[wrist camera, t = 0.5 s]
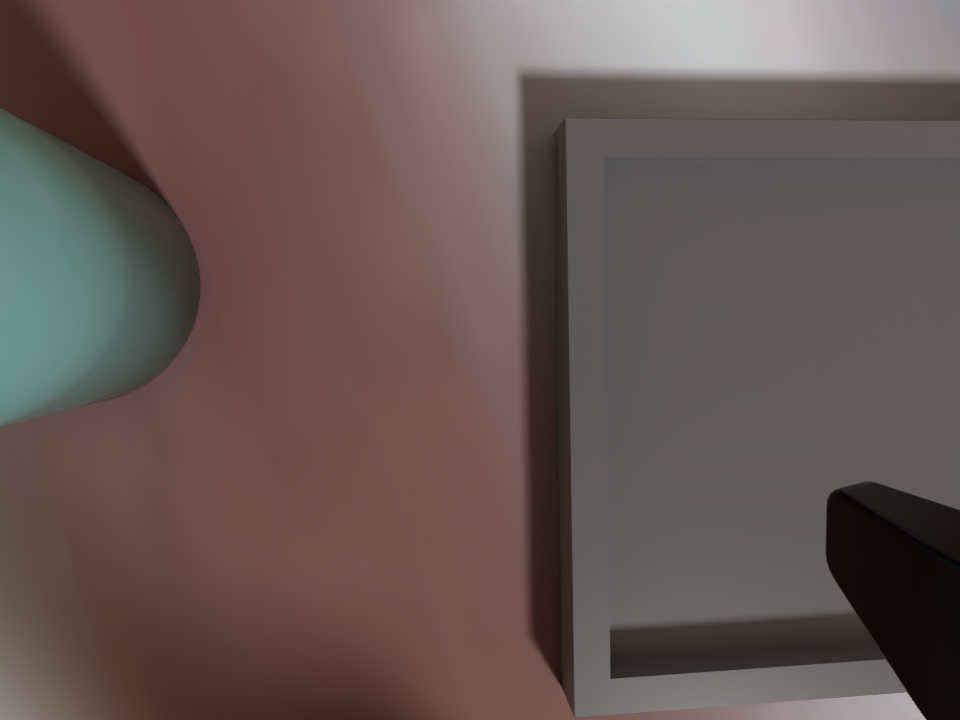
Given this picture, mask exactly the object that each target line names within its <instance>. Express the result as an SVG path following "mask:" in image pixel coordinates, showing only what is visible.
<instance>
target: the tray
mask: <svg viewBox="0 0 960 720" xmlns="http://www.w3.org/2000/svg"><path fill="white" fill-rule="evenodd" d="M553 139H554V202H555V265H556V328H557V392H558V455H559V518H560V581H561V644H562V689H563V691H564V694H565V696H566V698H567V701H568V703H569V705H570V708H571V710H572V712H573V715H574V717H588V716H602V715H615V714H628V713H641V712H654V711H667V710H680V709H693V708H706V707H719V706H732V705H746V704H759V703H772V702H785V701H798V700H811V699H824V698H837V697H850V696H863V695H876V694H890V693H903V692H907V691H906V690H905V688H904V686H903V685H902V683H901V682H900V680H899V679H898V677H897V676H896V674H895V673H894V671H893V669H892V668H891V666H890V665H889V663H888V662H887V660H886V659H885V657H884V656H883V654H882V652H881V651H880V649H879V648H878V646H877V645H876V643H875V642H874V640H873V639H872V637H871V635H870V634H869V632H868V631H867V629H866V628H865V626H864V625H863V623H862V622H861V620H860V618H859V617H858V615H857V614H856V612H855V611H854V609H853V608H852V606H851V605H850V603H849V601H848V600H847V598H846V597H845V595H844V594H843V592H842V591H841V589H840V588H839V586H838V584H837V583H836V581H835V580H834V578H833V576H832V574H831V572H830V570H829V567H828V564H827V560H826V553H825V547H826V506H827V499H828V497H829V495H830V493H831V492H832V491H834V490H835V489H838V488H842V487H846V486H849V485H853V484H857V483H861V482H867V481H869V482H875V483H879V484H882V485H885V486H888V487H891V488H894V489H897V490H900V491H904V492H907V493H910V494H913V495H916V496H919V497H922V498H925V499H928V500H931V501H934V502H937V503H940V504H943V505H946V506H949V507H953V508H956V509H959V510H960V121H896V120H753V119H609V118H566V119H565V120H564V121H563V122H562V124H561V125H560V126H559V128H558V129H557V130H556V132H555V133H554V134H553Z"/></svg>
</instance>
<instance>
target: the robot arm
mask: <svg viewBox="0 0 960 720" xmlns="http://www.w3.org/2000/svg"><path fill="white" fill-rule="evenodd" d="M825 553H826V560H827V564H828V567H829V570H830V572H831V574H832V576H833V578H834V580H835V581H836V583H837V584H838V586H839V588H840V589H841V591H842V592H843V594H844V595H845V597H846V598H847V600H848V601H849V603H850V605H851V606H852V608H853V609H854V611H855V612H856V614H857V615H858V617H859V618H860V620H861V622H862V623H863V625H864V626H865V628H866V629H867V631H868V632H869V634H870V635H871V637H872V639H873V640H874V642H875V643H876V645H877V646H878V648H879V649H880V651H881V652H882V654H883V656H884V657H885V659H886V660H887V662H888V663H889V665H890V666H891V668H892V669H893V671H894V673H895V674H896V676H897V677H898V679H899V680H900V682H901V683H902V685H903V686H904V688H905V690H906V691H907V692H908V694H909V695H910V697H911V698H912V700H913V701H914V703H915V704H916V706H917V707H918V709H919V710H920V711H921V713H922V714H923V716H924V717H925V718H926V720H960V510H959V509H956V508H953V507H949V506H946V505H943V504H940V503H937V502H934V501H931V500H928V499H925V498H922V497H919V496H916V495H913V494H910V493H907V492H904V491H900V490H897V489H894V488H891V487H888V486H885V485H882V484H879V483H875V482H869V481H867V482H861V483H857V484H853V485H849V486H846V487H842V488H838V489H835V490H834V491H832V492H831V493H830V495H829V497H828V499H827V506H826V547H825Z"/></svg>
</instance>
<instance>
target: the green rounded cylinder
mask: <svg viewBox="0 0 960 720" xmlns="http://www.w3.org/2000/svg"><path fill="white" fill-rule="evenodd" d="M199 300H200V275H199V266H198V262H197V258H196V254H195V251H194V248H193V246H192V243H191V240H190V238H189V236H188V234H187V232H186V230H185V228H184V227H183V225H182V223H181V222H180V220H179V219H178V218H177V216H176V215H175V213H174V212H173V211H172V210H171V208H170V207H169V206H168V205H167V204H166V203H165V202H164V201H163V200H162V199H161V198H160V197H159V196H157V195H156V194H155V193H154V192H153V191H151V190H150V189H149V188H148V187H146V186H144V185H143V184H141V183H140V182H138V181H136V180H135V179H133V178H131V177H129V176H127V175H126V174H124V173H122V172H120V171H118V170H116V169H114V168H112V167H111V166H109V165H107V164H105V163H103V162H101V161H99V160H97V159H95V158H94V157H92V156H90V155H88V154H86V153H84V152H82V151H80V150H79V149H77V148H75V147H73V146H71V145H69V144H67V143H65V142H64V141H62V140H60V139H58V138H56V137H54V136H52V135H50V134H49V133H47V132H45V131H43V130H41V129H39V128H37V127H35V126H34V125H32V124H30V123H28V122H26V121H24V120H22V119H20V118H19V117H17V116H15V115H13V114H11V113H9V112H7V111H5V110H4V109H2V108H0V427H2V426H6V425H10V424H14V423H18V422H22V421H26V420H30V419H34V418H38V417H42V416H46V415H50V414H54V413H58V412H62V411H66V410H70V409H74V408H78V407H82V406H86V405H90V404H94V403H98V402H102V401H106V400H110V399H114V398H117V397H119V396H122V395H125V394H128V393H130V392H132V391H134V390H136V389H138V388H140V387H142V386H144V385H145V384H147V383H148V382H150V381H151V380H153V379H154V378H155V377H157V376H158V375H159V374H160V373H161V372H162V371H163V370H165V369H166V368H167V367H168V366H169V365H170V363H171V362H172V361H173V360H174V359H175V358H176V356H177V355H178V354H179V352H180V351H181V349H182V348H183V346H184V345H185V343H186V341H187V339H188V337H189V335H190V333H191V331H192V328H193V326H194V322H195V319H196V316H197V312H198V306H199Z"/></svg>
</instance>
